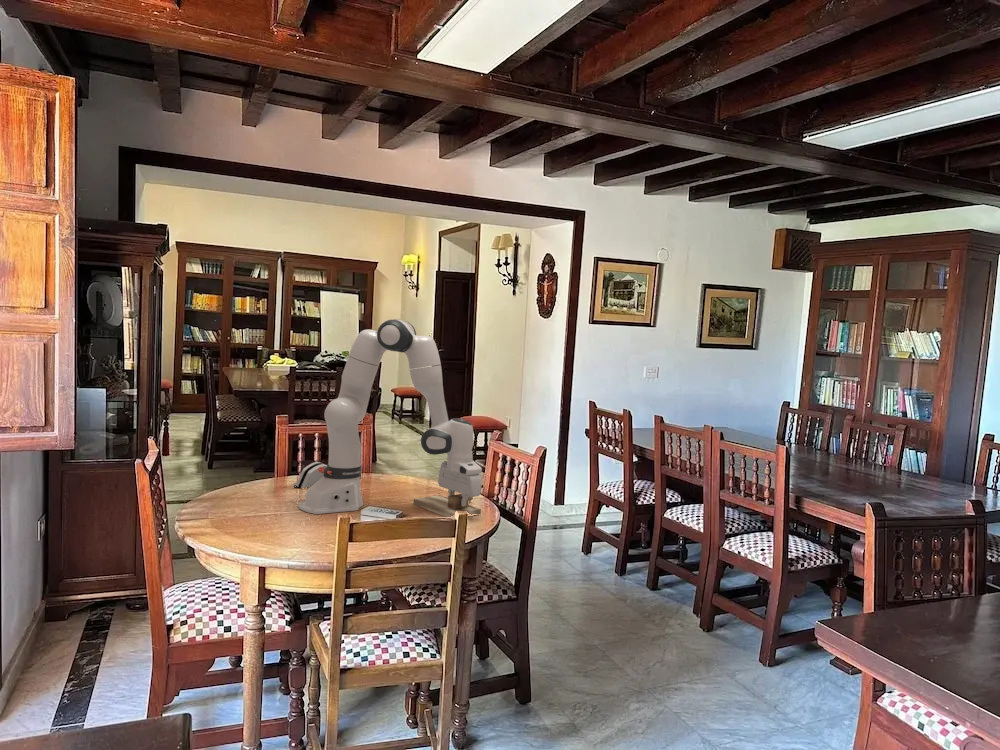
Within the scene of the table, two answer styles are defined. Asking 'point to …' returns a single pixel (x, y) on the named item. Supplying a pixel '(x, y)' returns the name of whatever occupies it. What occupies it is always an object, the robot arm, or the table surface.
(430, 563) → the table surface
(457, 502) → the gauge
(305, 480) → the grey curved piece
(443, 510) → the board
